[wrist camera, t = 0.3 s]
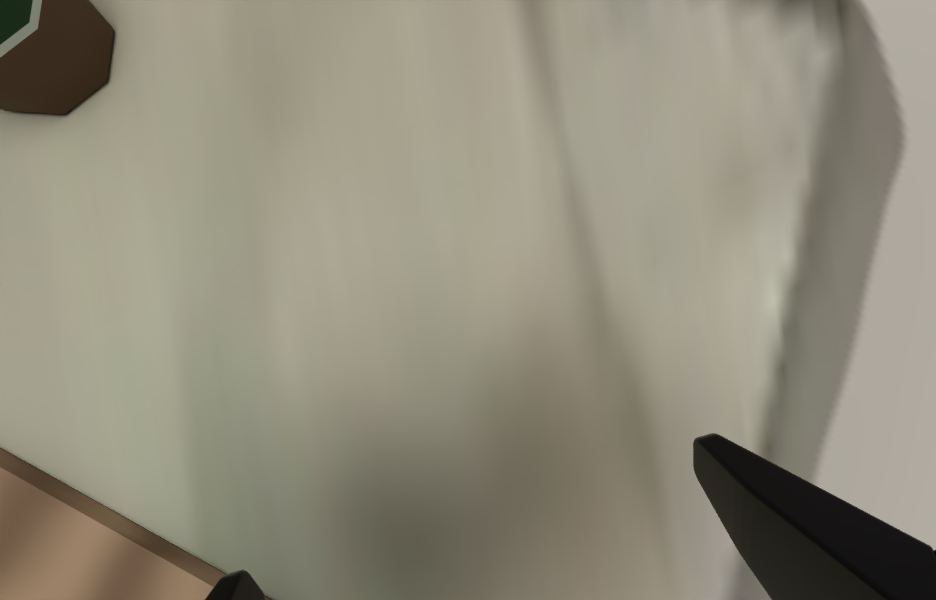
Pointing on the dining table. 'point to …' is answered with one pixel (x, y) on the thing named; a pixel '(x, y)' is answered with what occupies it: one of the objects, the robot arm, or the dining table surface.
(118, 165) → the dining table surface
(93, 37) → the beer bottle
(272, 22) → the dining table surface
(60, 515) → the walnut board
